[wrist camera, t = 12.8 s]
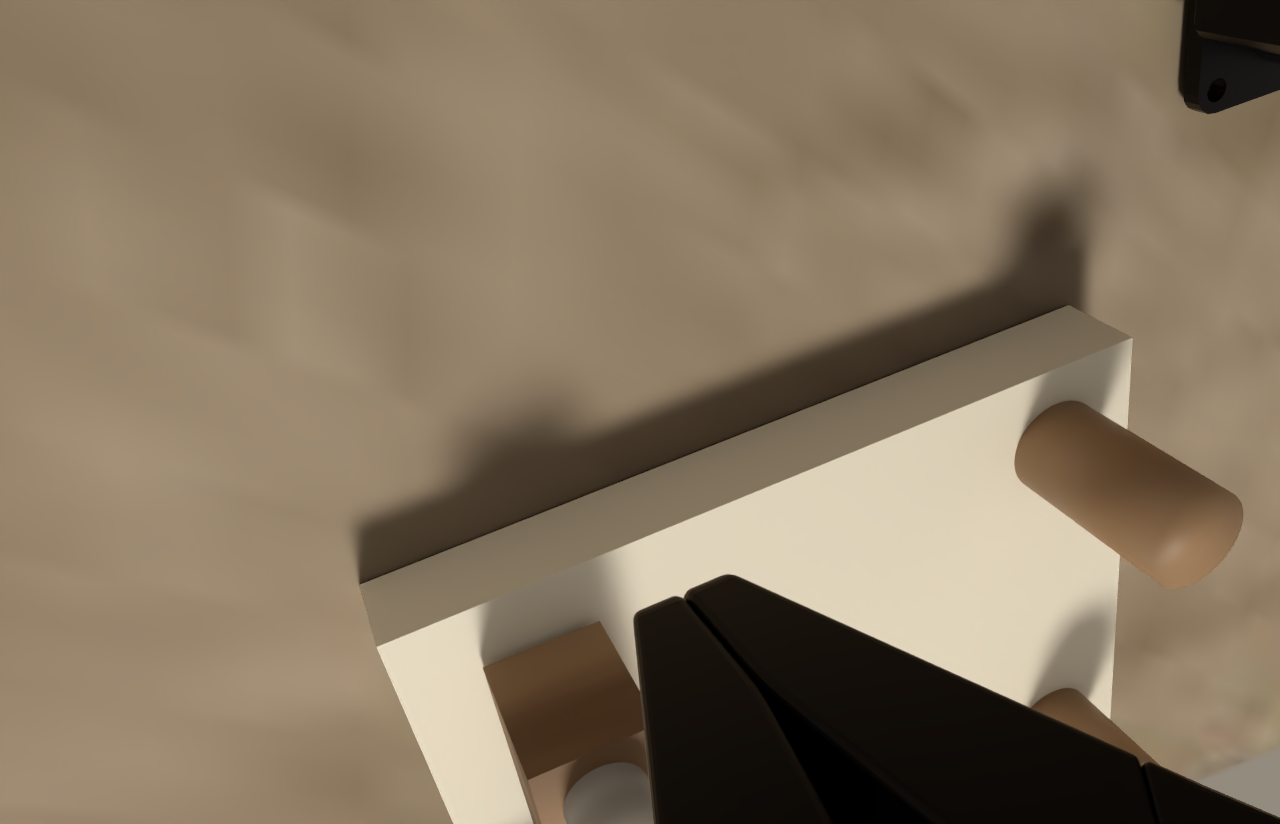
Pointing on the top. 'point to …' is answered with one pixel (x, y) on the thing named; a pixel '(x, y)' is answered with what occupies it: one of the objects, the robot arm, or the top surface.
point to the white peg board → (840, 544)
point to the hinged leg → (574, 730)
